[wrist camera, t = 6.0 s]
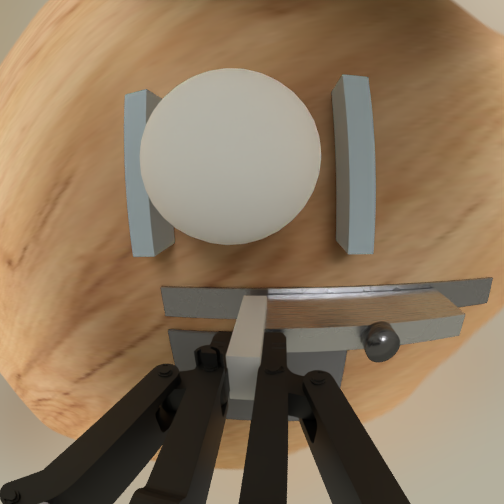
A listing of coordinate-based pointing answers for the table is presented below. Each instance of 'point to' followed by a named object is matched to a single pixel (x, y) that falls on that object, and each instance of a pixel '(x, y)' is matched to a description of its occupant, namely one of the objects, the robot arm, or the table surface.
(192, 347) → the mat
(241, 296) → the track
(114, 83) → the table surface
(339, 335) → the latch bar
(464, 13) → the table surface
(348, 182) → the channel
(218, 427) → the robot arm
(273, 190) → the light bulb
